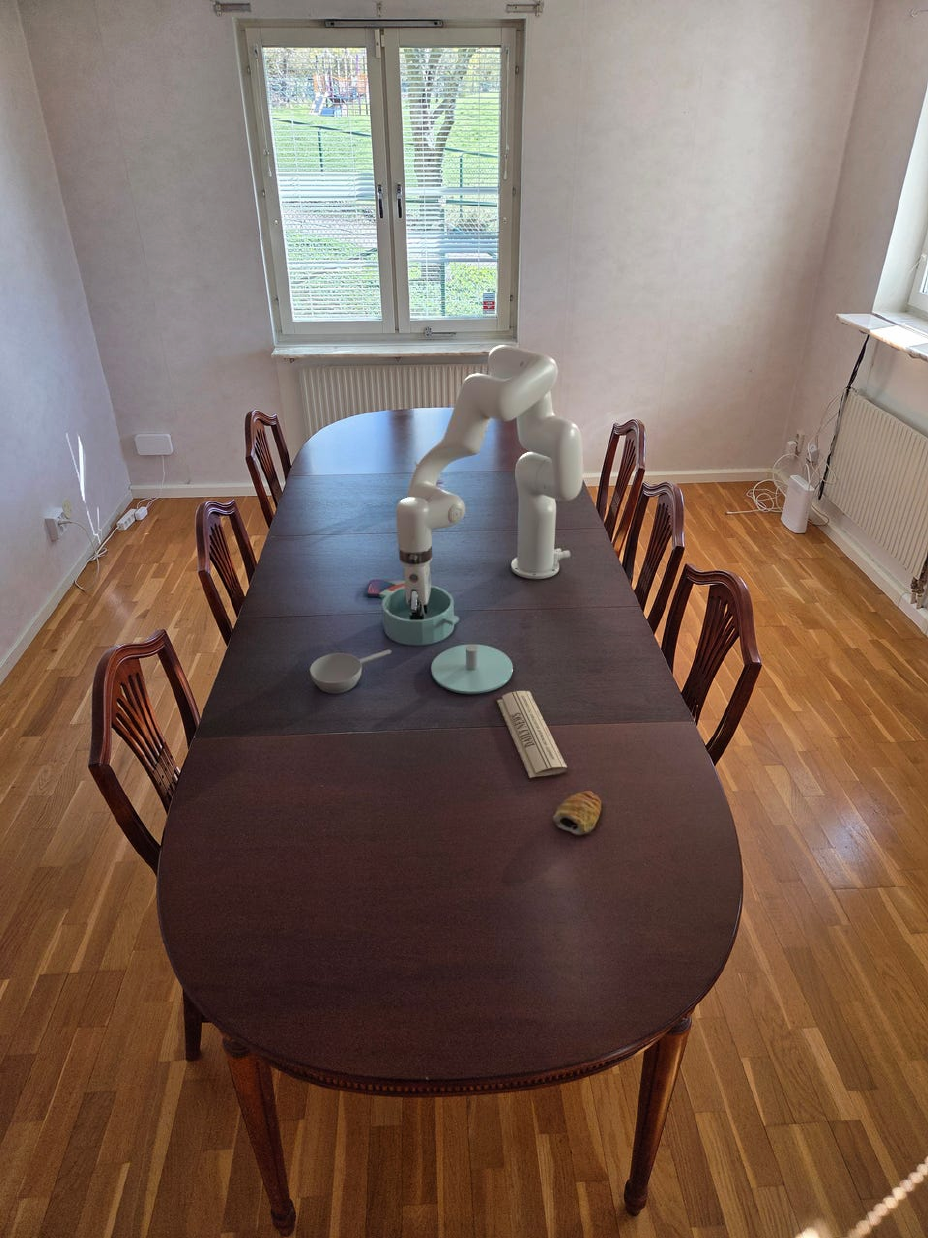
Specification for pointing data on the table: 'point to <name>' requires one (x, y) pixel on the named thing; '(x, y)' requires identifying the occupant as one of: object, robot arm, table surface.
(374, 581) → the smartphone
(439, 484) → the water lily
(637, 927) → the table surface
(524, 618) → the table surface
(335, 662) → the saucepan
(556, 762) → the newspaper
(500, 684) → the lid
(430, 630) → the pot
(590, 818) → the pastry
